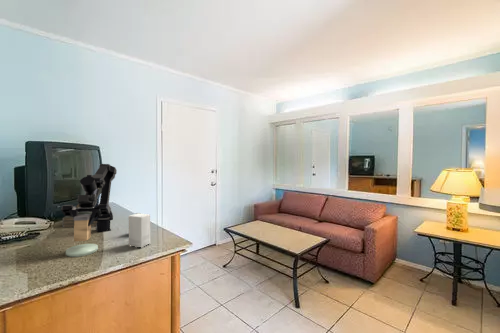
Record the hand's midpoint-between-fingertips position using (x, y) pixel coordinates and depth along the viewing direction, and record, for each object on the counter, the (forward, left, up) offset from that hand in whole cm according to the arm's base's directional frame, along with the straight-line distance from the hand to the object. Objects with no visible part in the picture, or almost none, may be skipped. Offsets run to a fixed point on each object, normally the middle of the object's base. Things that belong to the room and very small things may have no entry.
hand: (81, 225), depth 105 cm
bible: (-15, -56, -13) cm, 60 cm away
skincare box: (-23, +8, -13) cm, 27 cm away
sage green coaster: (-1, -1, -12) cm, 12 cm away
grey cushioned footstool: (-1, -1, -7) cm, 7 cm away
